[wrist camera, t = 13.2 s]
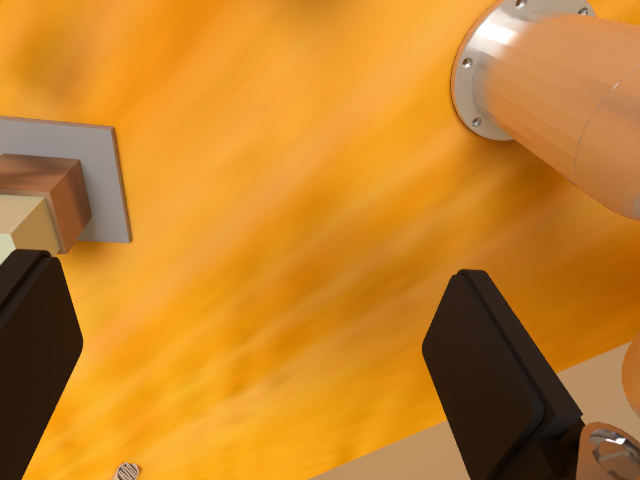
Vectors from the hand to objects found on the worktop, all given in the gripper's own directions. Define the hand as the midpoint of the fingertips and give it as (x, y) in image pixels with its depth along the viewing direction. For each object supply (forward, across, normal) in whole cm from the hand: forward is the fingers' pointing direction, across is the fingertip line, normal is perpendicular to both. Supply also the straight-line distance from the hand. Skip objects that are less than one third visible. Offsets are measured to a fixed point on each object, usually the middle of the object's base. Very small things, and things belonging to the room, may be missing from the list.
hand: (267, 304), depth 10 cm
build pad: (+28, +19, +13) cm, 36 cm away
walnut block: (+28, +19, +13) cm, 36 cm away
